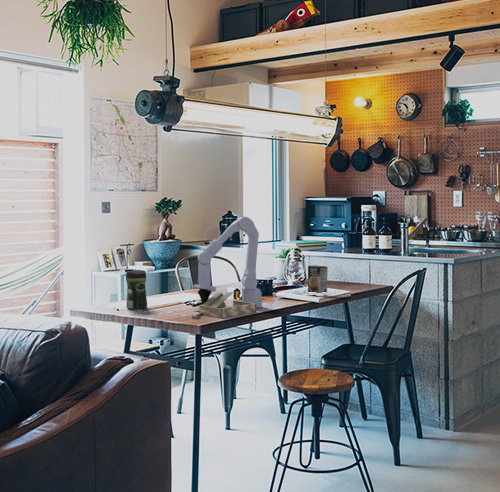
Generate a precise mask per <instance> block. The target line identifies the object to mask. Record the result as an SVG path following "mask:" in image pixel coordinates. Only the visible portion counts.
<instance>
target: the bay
mask: <svg viewBox="0 0 500 492" xmlns="http://www.w3.org/2000/svg"><path fill="white" fill-rule="evenodd" d="M198 307H199V311H198V314H201V313H203V315H202V316H209V317H213V318H219V319H222V318H230V317H234V316H235V317H236V316H240V315H241V316H242V315H247V314H253V313H257V308H256V303H249V302H243V301H242V300H235V299H234V300H233V301H232V306H230V307H228V306H227V307H225V308H215V307H209V306H203V305H202V304H200V305H198Z"/></svg>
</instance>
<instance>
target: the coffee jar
mask: <svg viewBox="0 0 500 492" xmlns="http://www.w3.org/2000/svg"><path fill="white" fill-rule="evenodd" d="M125 280H126V281H125V282H126V284H127V289H126V290H127V291H126V293H127V295H126V308H127V309H128V310H142V309H146V308H148V299H147V289H146V282H147V273H146V270H141V269H135V270H134V269H133V270H130V271H129V270H127V271H126V273H125Z"/></svg>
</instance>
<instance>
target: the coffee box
mask: <svg viewBox="0 0 500 492" xmlns="http://www.w3.org/2000/svg"><path fill="white" fill-rule="evenodd" d="M308 292H316V293H322V292H327V293H328V266H323V265H308V266H307V293H308Z"/></svg>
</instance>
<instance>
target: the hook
mask: <svg viewBox="0 0 500 492" xmlns="http://www.w3.org/2000/svg"><path fill="white" fill-rule="evenodd" d="M201 316H202V317H203V316H204V315H203V313H201V314H199V313H198V314H194V315H192V316H191V319H193V320H194V319H195V320H199V319H201Z"/></svg>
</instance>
